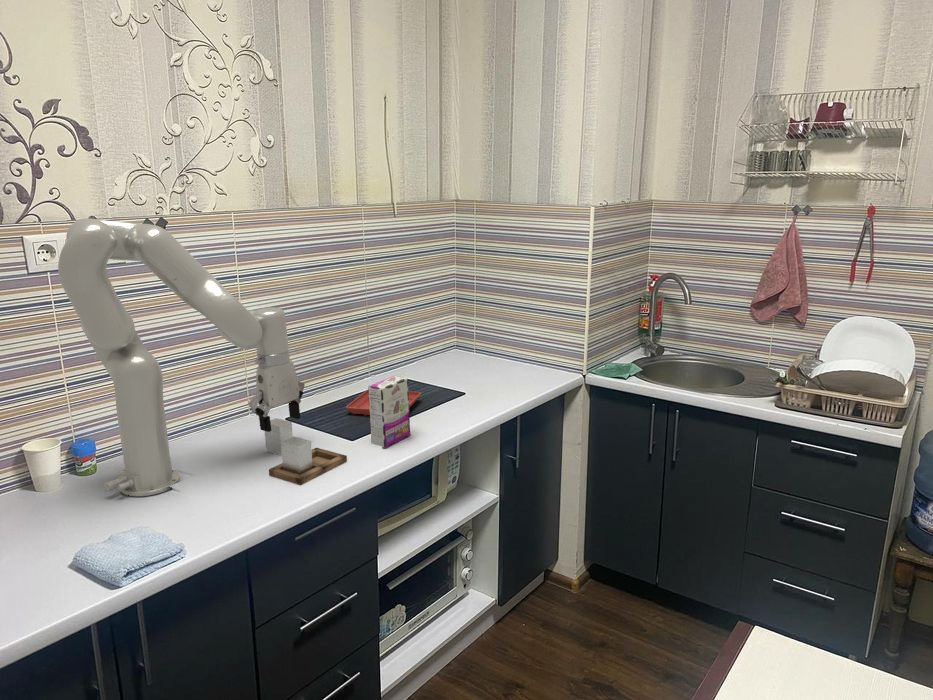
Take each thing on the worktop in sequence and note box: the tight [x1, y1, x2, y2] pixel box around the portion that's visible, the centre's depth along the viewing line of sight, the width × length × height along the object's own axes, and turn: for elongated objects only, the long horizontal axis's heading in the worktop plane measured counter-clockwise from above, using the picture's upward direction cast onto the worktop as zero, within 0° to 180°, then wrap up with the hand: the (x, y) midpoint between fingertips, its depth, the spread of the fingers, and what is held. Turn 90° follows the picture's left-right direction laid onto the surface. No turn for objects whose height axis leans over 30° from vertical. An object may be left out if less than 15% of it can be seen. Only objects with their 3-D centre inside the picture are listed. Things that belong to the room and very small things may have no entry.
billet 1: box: [264, 417, 293, 457], centre depth 172 cm, size 4×6×8 cm
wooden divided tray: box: [268, 447, 348, 486], centre depth 162 cm, size 16×10×2 cm, turn 148°
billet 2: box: [281, 436, 313, 475], centre depth 158 cm, size 4×6×8 cm
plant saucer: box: [345, 389, 422, 416], centre depth 207 cm, size 18×18×3 cm
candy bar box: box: [367, 375, 411, 449], centre depth 180 cm, size 11×5×16 cm, turn 148°
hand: (280, 424), depth 171 cm, fingers open, 9 cm apart
